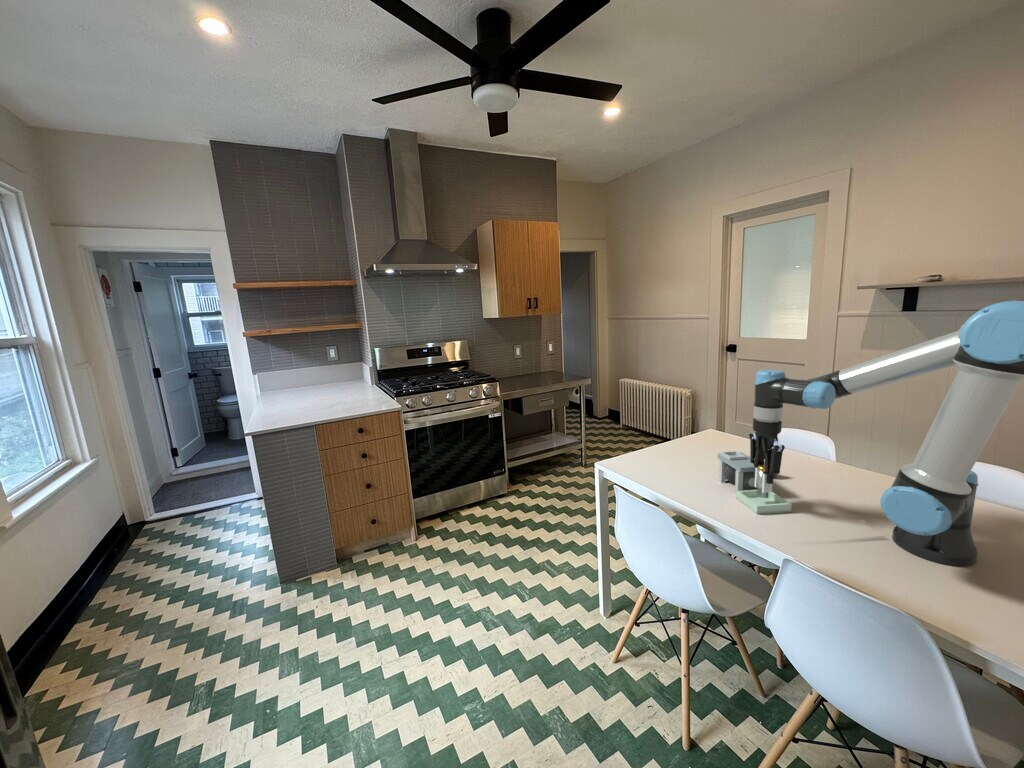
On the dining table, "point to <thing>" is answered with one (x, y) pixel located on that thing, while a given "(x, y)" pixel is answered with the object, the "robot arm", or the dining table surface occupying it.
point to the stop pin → (760, 480)
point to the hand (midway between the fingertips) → (762, 489)
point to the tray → (763, 502)
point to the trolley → (737, 470)
